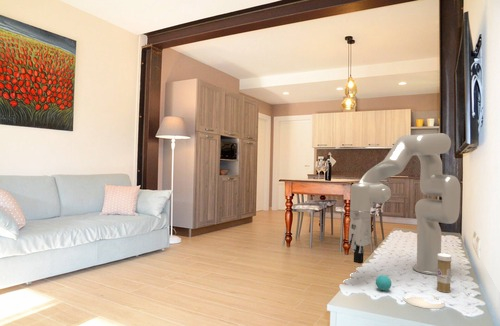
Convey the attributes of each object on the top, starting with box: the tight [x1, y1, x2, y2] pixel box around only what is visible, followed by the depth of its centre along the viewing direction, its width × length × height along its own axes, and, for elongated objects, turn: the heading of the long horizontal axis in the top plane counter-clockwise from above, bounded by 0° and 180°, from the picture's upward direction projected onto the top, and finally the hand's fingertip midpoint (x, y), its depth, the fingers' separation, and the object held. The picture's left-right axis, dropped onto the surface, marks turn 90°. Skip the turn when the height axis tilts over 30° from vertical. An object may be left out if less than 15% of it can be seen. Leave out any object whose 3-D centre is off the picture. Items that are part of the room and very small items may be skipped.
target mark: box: [403, 296, 446, 310], centre depth 121 cm, size 13×13×1 cm
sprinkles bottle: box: [436, 252, 452, 293], centre depth 131 cm, size 5×5×14 cm
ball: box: [375, 274, 392, 292], centre depth 131 cm, size 6×6×6 cm
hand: (358, 262), depth 137 cm, fingers closed
